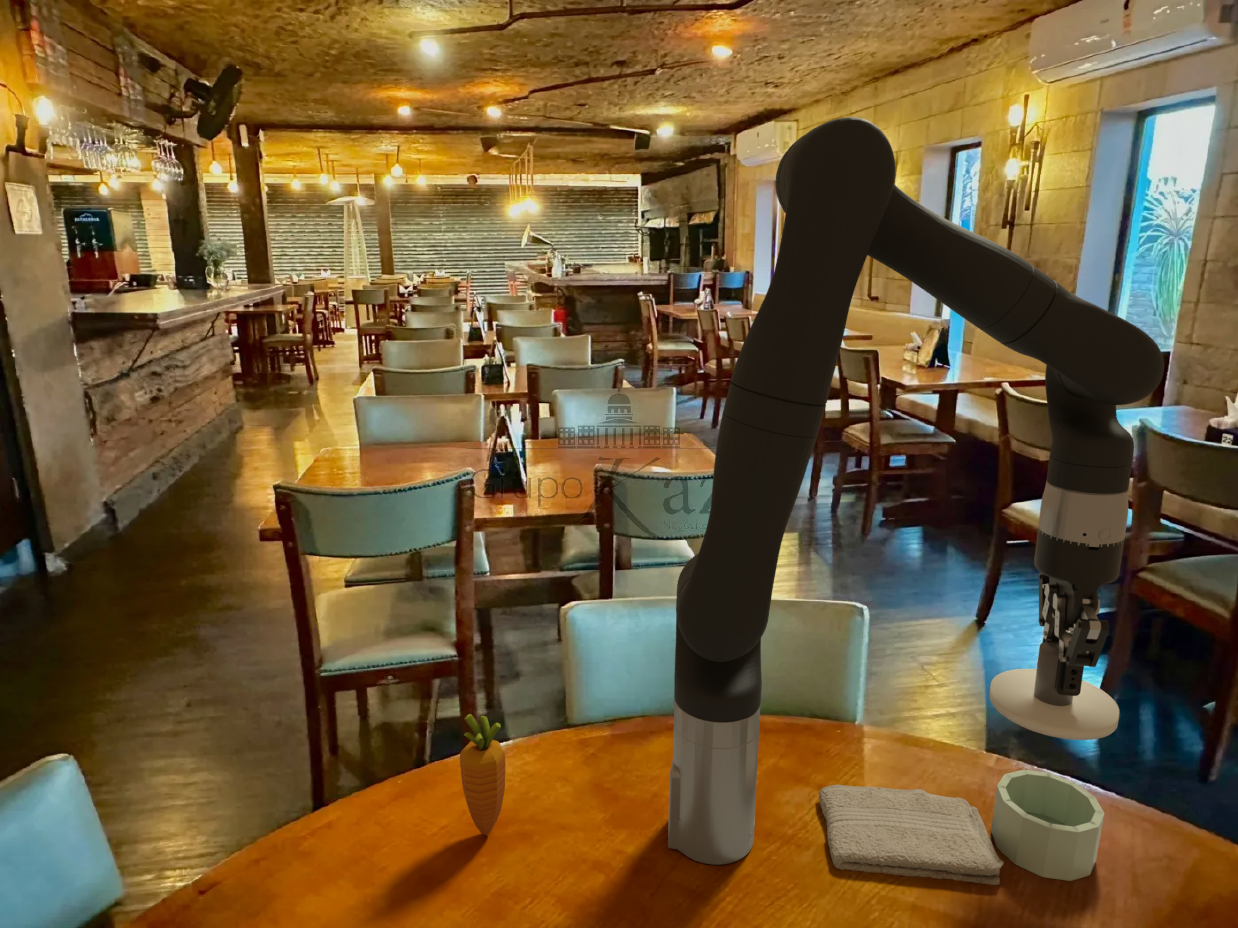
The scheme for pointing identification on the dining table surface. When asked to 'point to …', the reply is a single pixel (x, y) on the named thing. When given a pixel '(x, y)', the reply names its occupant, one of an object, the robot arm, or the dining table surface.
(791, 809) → the dining table surface
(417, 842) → the dining table surface
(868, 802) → the washcloth
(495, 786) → the carrot
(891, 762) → the dining table surface
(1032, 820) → the cup
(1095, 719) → the lid
